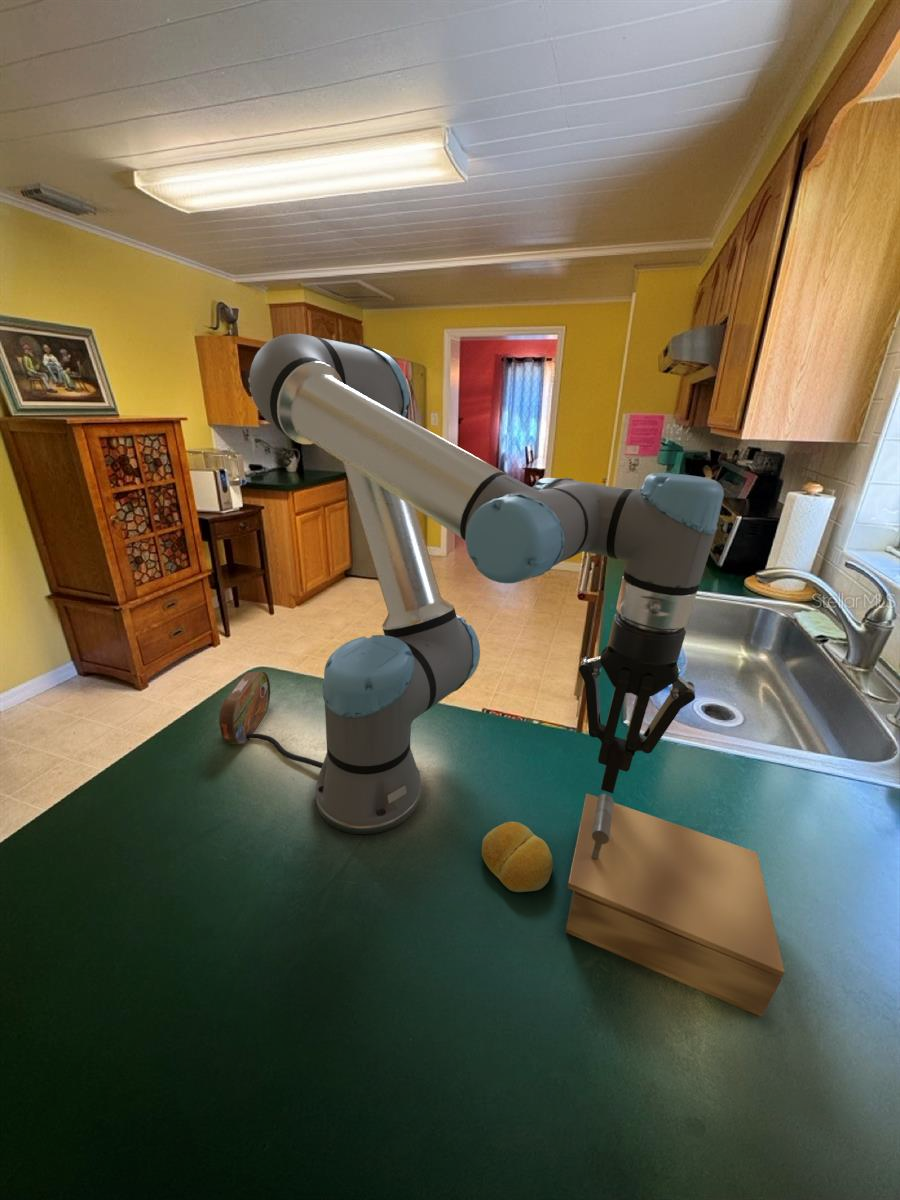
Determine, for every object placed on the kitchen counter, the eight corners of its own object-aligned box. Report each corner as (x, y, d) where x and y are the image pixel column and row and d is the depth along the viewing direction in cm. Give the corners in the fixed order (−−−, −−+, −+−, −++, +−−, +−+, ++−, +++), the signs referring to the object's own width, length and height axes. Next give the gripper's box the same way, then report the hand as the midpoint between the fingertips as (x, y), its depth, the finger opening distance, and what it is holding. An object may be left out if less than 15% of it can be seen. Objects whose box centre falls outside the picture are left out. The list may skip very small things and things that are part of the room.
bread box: (565, 932, 52) (573, 894, 50) (583, 836, 65) (590, 802, 62) (762, 1017, 46) (782, 978, 44) (740, 892, 58) (755, 857, 56)
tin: (239, 755, 75) (233, 711, 72) (219, 754, 75) (212, 710, 72) (273, 701, 89) (269, 663, 86) (256, 700, 89) (252, 662, 86)
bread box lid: (567, 888, 50) (575, 853, 48) (585, 797, 63) (592, 766, 61) (782, 978, 44) (802, 942, 42) (755, 857, 56) (770, 824, 54)
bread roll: (523, 909, 55) (527, 885, 53) (470, 856, 61) (473, 833, 59) (566, 870, 60) (570, 847, 58) (513, 824, 66) (517, 802, 64)
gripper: (585, 618, 51) (552, 786, 60) (718, 647, 46) (661, 824, 55) (594, 596, 57) (563, 750, 66) (712, 620, 53) (662, 783, 62)
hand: (608, 784), depth 61 cm, fingers closed
